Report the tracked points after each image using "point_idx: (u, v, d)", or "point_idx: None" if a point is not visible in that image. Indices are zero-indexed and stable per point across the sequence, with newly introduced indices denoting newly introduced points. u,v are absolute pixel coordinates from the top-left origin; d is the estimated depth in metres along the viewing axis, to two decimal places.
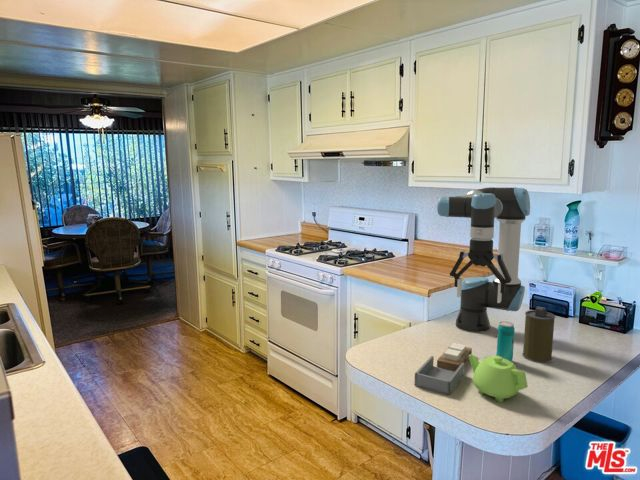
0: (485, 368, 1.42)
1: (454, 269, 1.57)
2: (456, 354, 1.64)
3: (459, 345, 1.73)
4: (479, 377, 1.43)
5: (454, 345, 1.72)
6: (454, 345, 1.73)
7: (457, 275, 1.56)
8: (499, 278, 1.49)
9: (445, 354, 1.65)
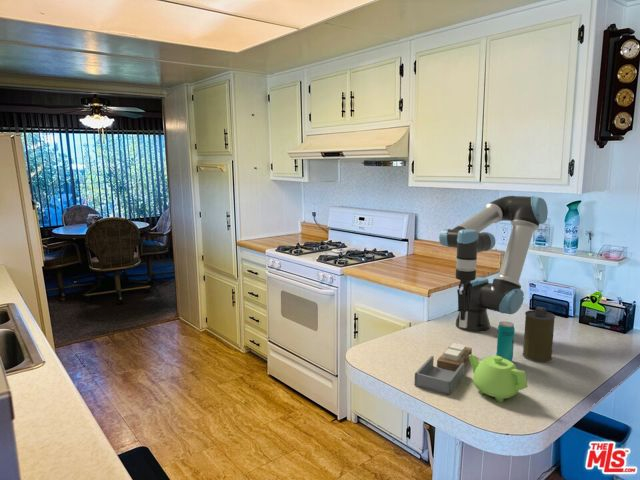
0: (485, 368, 1.42)
1: None
2: (456, 354, 1.64)
3: (459, 345, 1.73)
4: (479, 377, 1.43)
5: (454, 345, 1.72)
6: (454, 345, 1.73)
7: None
8: None
9: (445, 354, 1.65)
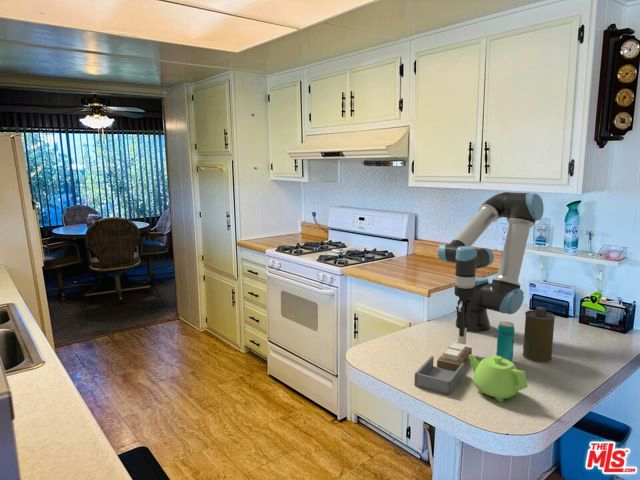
0: (485, 368, 1.42)
1: None
2: (456, 354, 1.64)
3: (459, 345, 1.73)
4: (479, 377, 1.43)
5: (454, 345, 1.72)
6: (454, 345, 1.73)
7: None
8: None
9: (445, 354, 1.65)
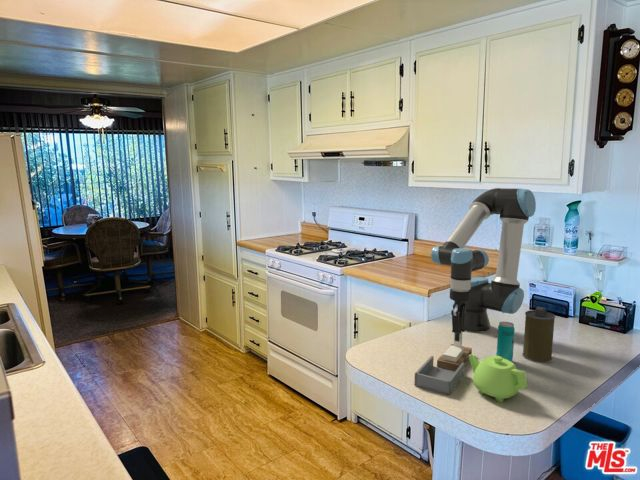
0: (485, 368, 1.42)
1: None
2: (455, 355, 1.63)
3: (457, 347, 1.70)
4: (479, 377, 1.43)
5: (452, 348, 1.70)
6: (452, 347, 1.70)
7: None
8: None
9: (444, 355, 1.64)
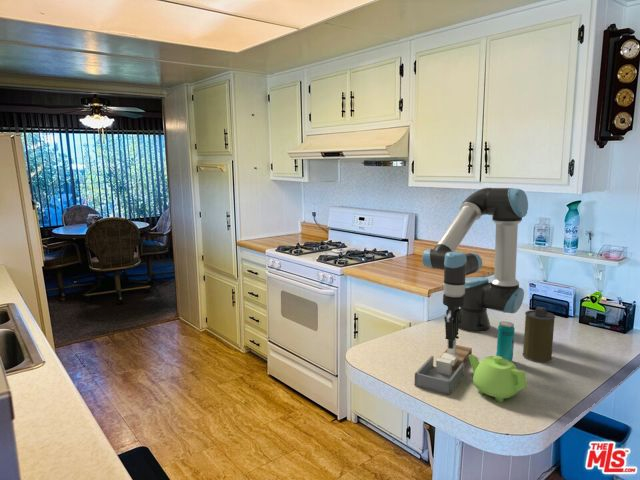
0: (485, 368, 1.42)
1: None
2: (448, 372, 1.57)
3: (451, 355, 1.63)
4: (479, 377, 1.43)
5: (446, 355, 1.63)
6: (445, 355, 1.64)
7: None
8: None
9: None
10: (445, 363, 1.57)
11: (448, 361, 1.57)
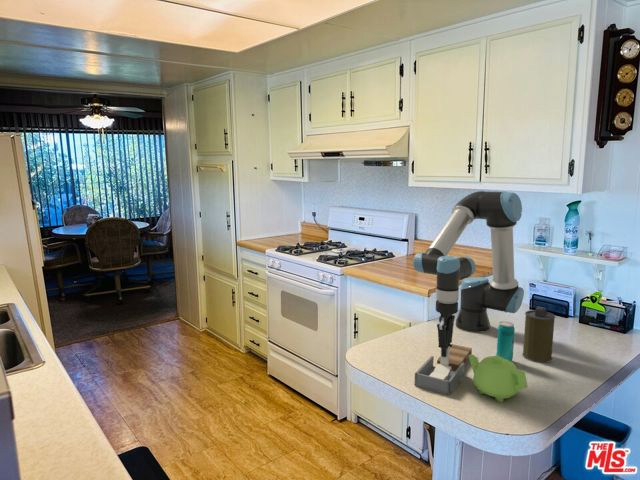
0: (485, 368, 1.42)
1: None
2: None
3: (444, 367, 1.57)
4: (479, 377, 1.43)
5: (439, 369, 1.57)
6: (438, 368, 1.57)
7: None
8: None
9: None
10: None
11: None
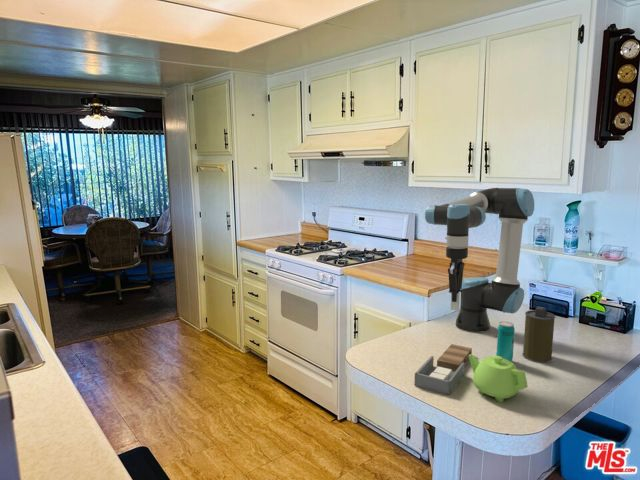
0: (485, 368, 1.42)
1: None
2: None
3: (444, 369, 1.58)
4: (479, 377, 1.43)
5: (439, 370, 1.57)
6: (439, 369, 1.58)
7: None
8: None
9: None
10: None
11: None
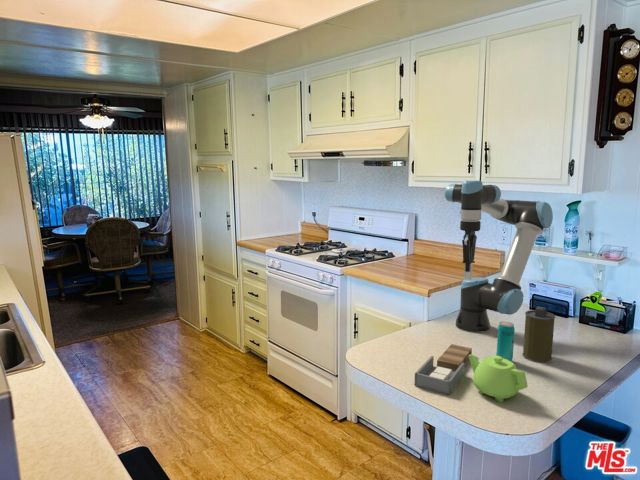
0: (485, 368, 1.42)
1: None
2: None
3: (444, 369, 1.58)
4: (479, 377, 1.43)
5: (439, 370, 1.57)
6: (439, 369, 1.58)
7: None
8: None
9: None
10: None
11: None
